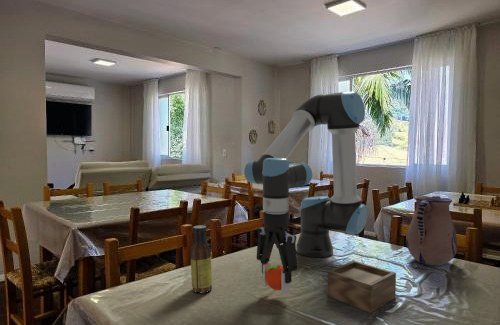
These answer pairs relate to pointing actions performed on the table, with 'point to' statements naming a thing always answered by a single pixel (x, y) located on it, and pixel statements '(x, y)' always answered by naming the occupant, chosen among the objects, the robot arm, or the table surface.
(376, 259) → the table surface
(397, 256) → the table surface
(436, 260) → the ceramic pitcher
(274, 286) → the clementine
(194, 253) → the sauce bottle
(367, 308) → the walnut tray
